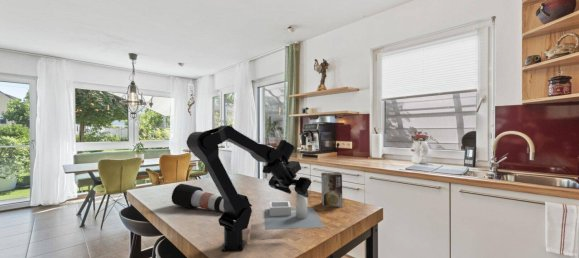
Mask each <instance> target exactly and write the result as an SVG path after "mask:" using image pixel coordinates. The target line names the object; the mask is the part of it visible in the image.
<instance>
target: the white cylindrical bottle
mask: <svg viewBox="0 0 579 258" xmlns="http://www.w3.org/2000/svg"><path fill="white" fill-rule="evenodd" d="M295 208H296V218H299V219H305V218H307V208H308V198H306V197H303V196H301V195H299V194H297V192H296V191H295Z"/></svg>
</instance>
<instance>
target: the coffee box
mask: <svg viewBox="0 0 579 258" xmlns="http://www.w3.org/2000/svg"><path fill="white" fill-rule="evenodd" d="M320 174H321V205H322V206H323V207H340V208H341V209H343V174H342V173H341V172H321V173H320Z"/></svg>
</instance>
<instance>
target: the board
mask: <svg viewBox="0 0 579 258" xmlns="http://www.w3.org/2000/svg"><path fill="white" fill-rule="evenodd" d="M291 205H292V204H291V203H290V201H289V200H288V201H287V200H286V201H285V200H284V201H282V200H281V201H269V208H265V209H264V230H288V229H291V230H292V229H313V228H314V229H315V228H326V226H325V224H324V223H323V222H322V220H321V217H320V216H319V215H318V213H317V212H316V210H315V209H314V207H307V218H305V219H299V218H296V207H292V206H291Z"/></svg>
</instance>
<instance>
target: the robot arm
mask: <svg viewBox="0 0 579 258" xmlns="http://www.w3.org/2000/svg"><path fill="white" fill-rule="evenodd" d="M225 141H227V142H228V143H231V144H233V145H234V146H237V147H239V148H240V149H243V150H244V151H245V152H247V153H249V154H250V156H251V158H253V159H254V160H255V161H256V162H258V163H265V165H263V166H262V167H263V168H262V173H264V174H271V177H270V179H268V186H269V187H270V188H272V189H275V190H278V191H279V192H283V193H285V194H288V195H291V194H292V191H291V188H290V186H294V192H295V193H296V192H297V194H299V195H301V196H303V197H306V198H307V199H308V198H309V196H310V195H309V191H308V190H309V188H310V187H311V184H312V183H313V182H312V180H311V179H310V177H306V176H300V177H299V178H298V179H297V178H296V177H297V173H298V172H300V171H301V170H302V167H301V164H300V162H299V161H298V160H297V161H296V160H290V158H291V157H292V155H293V153H294V151H295V150H296V148H295V146H294V145H293V144H292V143H290V142H288V141H287V140H286V139H281V140H280V142H279V144H278V145H277V146H276V148H275V147H274V146H271V145H268V144H264V143H260V142H258V141H256V140H254V139H252V138H251V137H249V136H247V135H245V134H244V133H242V132H241V131H239V130H237V129H236V128H235V127H233V126H232V125H229V124H228V125H226V124H225V125H219V126H217V127H215V128H212V129H208V130H205V131H194V132H191V133H190V134H189V135H188V137H187V139H186V141H185V142H186V146H187V148H188V149H189V150H190V152H192V154H193V155H194V156H195V157H196V158H197V159H199V161H200V162H202V163H203V165H204V167H205V169H206V171H207V172H208V174H209V175H210V178H211V180H212V181H213V183H214V185H215V187H216V189H217V191H218V192H219V194H220V196H221V197H222V198H223V200H224V202H223V207H224V210H225V211H224V212H222V214H221V216H220V217H219V218H218V224H219V226H222V227H223V231H224V232H223V239H224V240H223V244H222V247H221V252H236V251H243V250H244V246H245V242H246V241H245V240H244V237H243V236H244V235H243V234H244V233H243V231H244V230H246V229H248V227H249V224H250V219H251V216H252V213H253V210H252V209H253V208H252V206H253V205H252V204H251V202H250V200H249V197H248V196H247V195H244V194H240V193H238V191H237V190H236V188H235V186H234V184H233V181H232V180H231V178H230V176H229V174H228V172H227V170H226V168H225V166H224V164H223V162H222V161H221V159H220V155H219V153H220V151H219V150H220V148H219V147H220V146H219V145H221V144H223V143H224V142H225Z"/></svg>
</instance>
